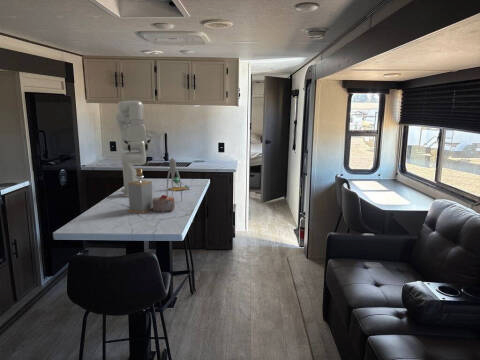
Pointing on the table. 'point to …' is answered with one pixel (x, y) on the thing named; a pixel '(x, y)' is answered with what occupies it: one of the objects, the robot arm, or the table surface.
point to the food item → (163, 203)
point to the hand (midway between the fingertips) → (138, 151)
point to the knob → (139, 174)
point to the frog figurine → (176, 180)
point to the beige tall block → (140, 196)
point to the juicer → (172, 168)
